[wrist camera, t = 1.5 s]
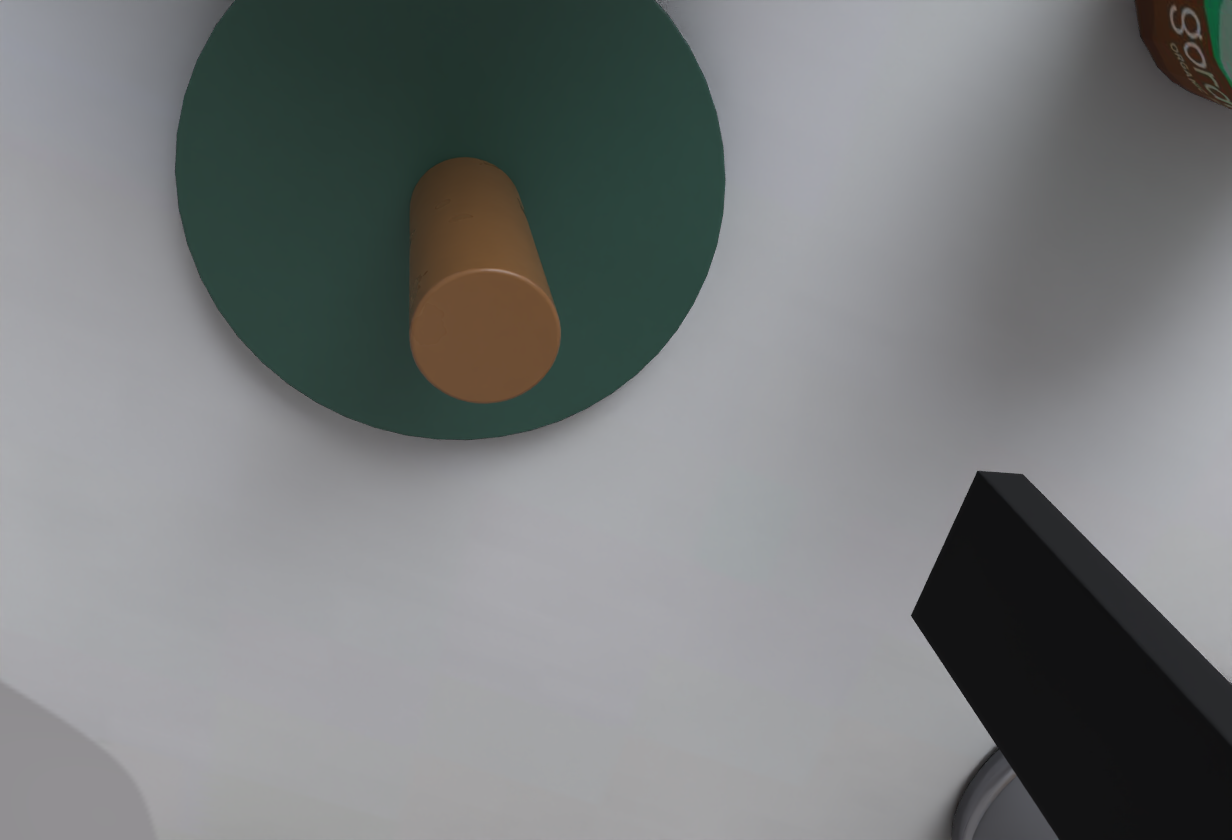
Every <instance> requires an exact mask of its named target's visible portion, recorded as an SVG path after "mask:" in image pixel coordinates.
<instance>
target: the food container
mask: <svg viewBox="0 0 1232 840" xmlns="http://www.w3.org/2000/svg"><path fill="white" fill-rule="evenodd" d="M1135 6H1136V12H1137V18H1138V24H1139V31H1140V37H1141V38H1142V40H1143V42H1144V44H1145V46H1146V47H1147V49H1148V51H1149V53H1150V54H1151V56H1152V58H1153V60H1154V62H1155V63H1156V65H1157V67H1158V68H1159V69H1160V70H1161V71H1162V72H1163V73H1164V74H1165V75H1166V76H1167V77H1168V78H1169V79H1170V80H1171V81H1172V82H1174V83H1175V84H1177V85H1179V86H1180V87H1182V88H1184V89H1185V90H1187V91H1189V92H1191V93H1193V94H1196V95H1198V96H1201V97H1203V98H1205V99H1208V100H1210V101H1212V102H1215V103H1217V104H1220V105H1222V106H1224V107H1227V108H1229V109H1232V0H1135Z"/></svg>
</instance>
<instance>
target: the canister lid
mask: <svg viewBox="0 0 1232 840" xmlns="http://www.w3.org/2000/svg"><path fill="white" fill-rule="evenodd" d="M175 176H176V186H177V196H178V206H179V212H180V216H181V220H182V224H183V228H184V232H185V236H186V241H187V244H188V247H189V250H190V252H191V255H192V257H193V260H194V262H195V265H196V267H197V270H198V273H199V275H200V278H201V279H202V281H203V283H204V285H205V287H206V289H207V290H208V292H209V294H210V296H211V298H212V299H213V301H214V303H215V305H216V307H217V309H218V310H219V311H220V313H221V314H222V315H223V317H224V318H225V319H226V321H227V322H228V324H229V325H230V326H231V328H232V329H233V330H234V332H235V333H236V335H237V336H238V337H239V338H240V339H241V340H242V341H243V343H244V344H245V345H246V346H247V347H248V348H249V349H250V350H251V351H252V352H253V353H254V354H255V355H256V356H257V357H258V358H259V360H260V361H261V362H262V363H264V364H265V365H266V366H267V367H268V368H270V369H271V370H272V371H273V372H274V373H276V374H277V375H278V376H279V377H280V378H282V379H283V380H284V381H285V382H286V383H287V384H289V385H290V386H292V387H293V388H295V389H297V390H298V391H300V392H301V393H303V394H304V395H306V396H307V397H309V398H310V399H312V400H313V401H315V402H317V403H319V404H321V405H323V406H325V407H327V408H329V409H331V410H333V411H335V412H337V413H339V414H341V415H343V416H345V417H347V418H350V419H353V420H355V421H358V422H361V423H364V424H366V425H369V426H372V427H375V428H378V429H382V430H387V431H391V432H395V433H399V434H403V435H408V436H415V437H423V438H431V439H446V440H473V439H484V438H494V437H502V436H507V435H512V434H517V433H521V432H526V431H531V430H534V429H537V428H540V427H543V426H546V425H549V424H552V423H555V422H558V421H561V420H563V419H565V418H567V417H569V416H572V415H574V414H576V413H578V412H580V411H583V410H585V409H587V408H588V407H590V406H592V405H593V404H595V403H597V402H598V401H600V400H602V399H603V398H605V397H607V396H608V395H610V394H612V393H613V392H614V391H616V390H617V389H618V388H620V387H621V386H622V385H624V384H625V383H626V382H627V381H629V380H630V379H631V378H633V377H634V376H635V375H637V374H638V373H639V372H640V371H641V370H642V369H643V368H644V367H645V366H646V365H647V364H648V363H649V362H650V361H651V360H652V359H653V358H654V357H655V356H656V355H657V354H658V353H659V352H660V351H661V349H662V348H663V347H664V346H665V344H666V343H667V342H668V341H669V339H670V338H671V337H672V336H673V334H674V333H675V332H676V331H677V329H678V328H679V326H680V325H681V323H682V322H683V320H684V318H685V317H686V315H687V314H688V312H689V310H690V309H691V307H692V306H693V304H694V302H695V300H696V298H697V296H698V294H699V291H700V289H701V287H702V285H703V283H704V281H705V279H706V277H707V274H708V271H709V268H710V265H711V262H712V259H713V256H714V253H715V250H716V247H717V243H718V238H719V232H720V227H721V222H722V217H723V209H724V194H725V166H724V150H723V143H722V138H721V132H720V127H719V122H718V117H717V112H716V109H715V106H714V103H713V100H712V97H711V94H710V91H709V88H708V85H707V82H706V79H705V77H704V75H703V73H702V71H701V69H700V67H699V65H698V63H697V61H696V59H695V57H694V55H693V53H692V51H691V49H690V47H689V45H688V44H687V42H686V41H685V39H684V38H683V36H682V35H681V33H680V32H679V30H678V29H677V27H676V26H675V24H674V23H673V21H672V20H671V18H670V17H669V15H668V14H667V13H666V12H665V11H664V10H663V9H662V7H661V6H660V5H659V4H658V3H657V2H656V1H655V0H235V1H234V2H233V3H232V5H231V6H230V7H229V9H228V10H227V11H226V13H225V14H224V15H223V17H222V18H221V19H220V21H219V22H218V23H217V24H216V26H215V28H214V30H213V32H212V33H211V35H210V37H209V39H208V41H207V43H206V44H205V46H204V48H203V50H202V52H201V54H200V56H199V57H198V59H197V62H196V65H195V67H194V70H193V73H192V76H191V79H190V81H189V84H188V87H187V90H186V93H185V95H184V100H183V105H182V110H181V115H180V120H179V125H178V130H177V141H176V162H175Z"/></svg>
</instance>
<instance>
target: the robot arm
mask: <svg viewBox="0 0 1232 840" xmlns="http://www.w3.org/2000/svg"><path fill="white" fill-rule="evenodd" d="M911 616H912V618H913V620H914V621H915V623H916V624H917V626H918V627H919V629H920V630H921V632H922V633H923V635H924V636H925V638H926V639H927V641H928V642H929V644H930V645H931V647H932V648H933V650H934V651H935V653H936V654H937V656H938V657H939V659H940V660H941V662H942V663H943V665H944V666H945V668H946V669H947V671H948V672H949V674H950V675H951V677H952V678H953V680H954V682H955V683H956V685H957V686H958V688H959V689H960V691H961V692H962V694H963V695H964V697H965V698H966V700H967V701H968V703H969V704H970V706H971V707H972V709H973V710H974V712H975V713H976V715H977V716H978V718H979V719H980V721H981V722H982V724H983V725H984V727H985V728H986V730H987V731H988V733H989V734H990V736H991V737H992V739H993V740H994V742H995V744H996V745H997V747H998V748H999V749H998V751H997V752H996V753H995V754H994V755H993V756H992V757H991V758H990V759H989V760H988V761H987V762H986V763H985V764H984V765H983V767H982V768H981V769H980V770H979V772H978V773H977V774H976V776H975V777H974V778H973V780H972V781H971V783H970V784H969V786H968V787H967V789H966V791H965V792H964V794H963V796H962V798H961V800H960V802H959V805H958V807H957V810H956V813H955V817H954V821H953V827H952V840H1232V683H1230V682H1229V681H1227V680H1226V679H1225V678H1224V677H1223V676H1222V675H1221V674H1220V673H1219V672H1218V671H1217V670H1216V669H1215V668H1214V667H1213V666H1212V665H1211V664H1210V663H1209V662H1208V661H1207V660H1206V659H1205V657H1204V656H1203V655H1202V654H1201V653H1200V652H1199V651H1198V650H1197V649H1196V648H1195V647H1194V646H1193V645H1192V644H1191V643H1190V642H1189V641H1188V640H1187V639H1186V638H1185V637H1184V636H1183V635H1182V634H1181V633H1180V632H1179V631H1178V630H1177V629H1176V628H1175V627H1174V626H1173V625H1172V624H1171V623H1170V622H1169V621H1168V620H1167V619H1166V618H1165V617H1164V616H1163V615H1162V614H1161V613H1160V612H1159V611H1158V610H1157V609H1156V608H1155V607H1154V606H1153V605H1152V604H1151V603H1150V602H1149V601H1148V600H1147V599H1146V598H1145V597H1144V596H1143V595H1142V594H1141V593H1140V592H1139V591H1138V590H1137V589H1136V588H1135V587H1134V586H1133V585H1132V584H1131V583H1130V582H1129V581H1128V580H1127V579H1126V578H1125V577H1124V576H1123V575H1122V574H1121V573H1120V572H1119V571H1118V570H1117V569H1116V568H1115V567H1114V566H1113V565H1112V564H1111V563H1110V562H1109V561H1108V560H1107V559H1106V558H1105V557H1104V556H1103V555H1102V554H1101V553H1100V552H1099V551H1098V550H1097V549H1096V548H1095V547H1094V546H1093V545H1092V544H1091V543H1090V542H1089V541H1088V540H1087V539H1086V537H1085V536H1084V535H1083V534H1082V533H1081V532H1080V531H1079V530H1078V529H1077V528H1076V527H1075V526H1074V525H1073V524H1072V523H1071V522H1070V521H1069V520H1068V519H1067V518H1066V517H1065V516H1064V515H1063V514H1062V513H1061V512H1060V511H1059V510H1058V509H1057V508H1056V507H1055V506H1054V505H1053V504H1052V503H1051V502H1050V501H1049V500H1048V499H1047V498H1046V497H1045V496H1044V495H1043V494H1042V493H1041V492H1040V491H1039V490H1038V489H1037V488H1036V487H1035V486H1034V485H1033V484H1032V483H1031V482H1030V481H1029V480H1028V479H1027V478H1026V477H1025V476H1024V475H1023V474H1014V473H1000V472H986V471H977V473H976V476H975V478H974V480H973V482H972V484H971V486H970V489H969V491H968V493H967V495H966V497H965V499H964V502H963V504H962V506H961V508H960V510H959V512H958V515H957V517H956V519H955V521H954V523H953V525H952V528H951V530H950V532H949V534H948V536H947V539H946V541H945V543H944V545H943V547H942V549H941V552H940V554H939V556H938V558H937V560H936V562H935V565H934V567H933V569H932V571H931V573H930V575H929V578H928V580H927V582H926V584H925V586H924V588H923V591H922V593H921V595H920V597H919V599H918V602H917V604H916V606H915V608H914V610H913V612H912V615H911Z"/></svg>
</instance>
